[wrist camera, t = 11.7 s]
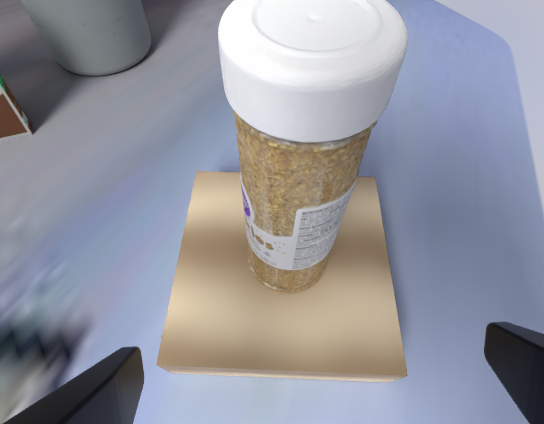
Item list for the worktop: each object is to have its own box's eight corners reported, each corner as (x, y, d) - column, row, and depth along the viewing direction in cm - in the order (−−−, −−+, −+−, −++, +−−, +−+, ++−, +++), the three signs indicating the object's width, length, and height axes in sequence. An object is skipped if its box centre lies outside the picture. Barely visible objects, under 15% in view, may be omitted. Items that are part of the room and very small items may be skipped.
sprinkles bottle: (235, 243, 20) (186, -7, 8) (302, 212, 21) (339, -44, 9) (271, 312, 17) (273, 103, 6) (344, 274, 19) (458, 37, 7)
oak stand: (388, 382, 18) (407, 375, 16) (171, 373, 19) (156, 364, 16) (364, 202, 25) (375, 177, 22) (203, 196, 25) (196, 171, 22)
